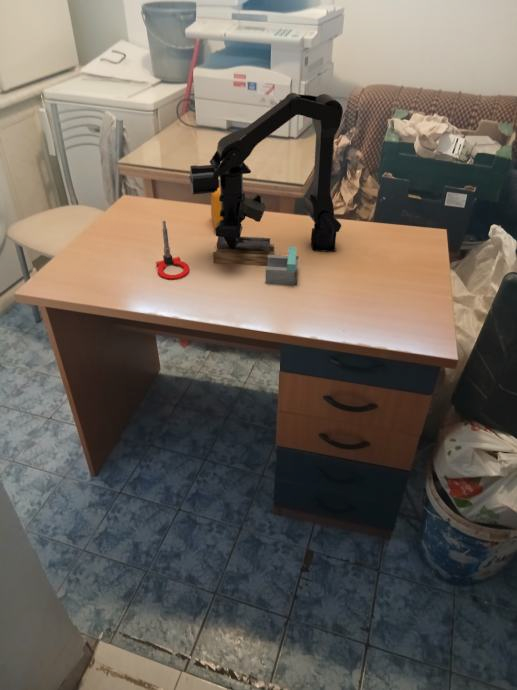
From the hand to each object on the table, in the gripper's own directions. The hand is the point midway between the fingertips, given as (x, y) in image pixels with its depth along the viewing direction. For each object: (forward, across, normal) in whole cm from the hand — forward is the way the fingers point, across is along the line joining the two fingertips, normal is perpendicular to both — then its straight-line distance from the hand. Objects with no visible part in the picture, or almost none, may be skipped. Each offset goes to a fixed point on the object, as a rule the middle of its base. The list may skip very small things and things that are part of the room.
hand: (233, 245), depth 139 cm
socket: (+4, -9, -14) cm, 17 cm away
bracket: (+4, +19, +5) cm, 20 cm away
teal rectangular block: (-1, -9, -16) cm, 19 cm away
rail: (+4, 0, -3) cm, 5 cm away
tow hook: (+4, -9, +15) cm, 18 cm away
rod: (+1, 0, -3) cm, 3 cm away
